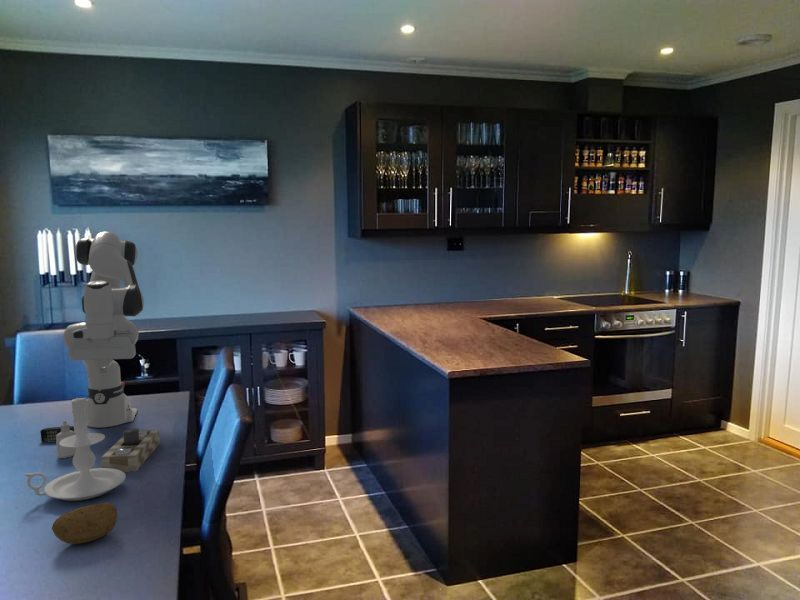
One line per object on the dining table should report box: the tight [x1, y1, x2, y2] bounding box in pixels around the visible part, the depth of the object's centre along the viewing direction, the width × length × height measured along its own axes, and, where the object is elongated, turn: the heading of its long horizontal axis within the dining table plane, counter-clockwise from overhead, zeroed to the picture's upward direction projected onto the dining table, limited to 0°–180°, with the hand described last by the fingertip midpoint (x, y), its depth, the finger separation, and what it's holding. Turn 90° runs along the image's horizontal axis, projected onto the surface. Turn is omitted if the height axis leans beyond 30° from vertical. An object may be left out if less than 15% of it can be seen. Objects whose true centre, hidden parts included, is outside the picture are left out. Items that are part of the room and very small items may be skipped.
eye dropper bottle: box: [55, 419, 76, 460], centre depth 204 cm, size 4×6×12 cm
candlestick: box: [24, 397, 126, 502], centre depth 173 cm, size 21×25×28 cm
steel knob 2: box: [139, 429, 147, 437], centre depth 210 cm, size 5×5×5 cm
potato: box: [51, 502, 118, 545], centre depth 149 cm, size 10×14×8 cm
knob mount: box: [100, 429, 160, 473], centre depth 202 cm, size 24×10×5 cm, turn 5°
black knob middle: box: [122, 428, 140, 446], centre depth 201 cm, size 5×5×5 cm
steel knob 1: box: [115, 446, 131, 455], centre depth 194 cm, size 5×5×5 cm
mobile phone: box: [40, 425, 76, 443], centre depth 219 cm, size 5×3×15 cm
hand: (104, 372), depth 206 cm, fingers closed
